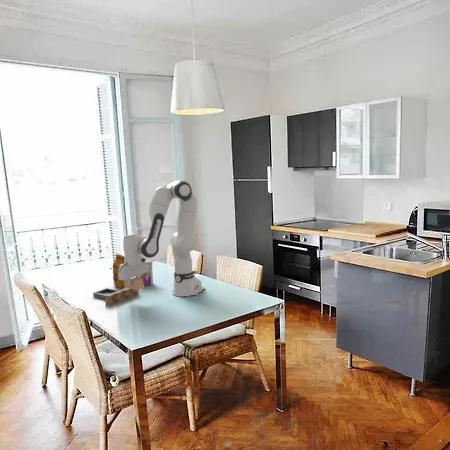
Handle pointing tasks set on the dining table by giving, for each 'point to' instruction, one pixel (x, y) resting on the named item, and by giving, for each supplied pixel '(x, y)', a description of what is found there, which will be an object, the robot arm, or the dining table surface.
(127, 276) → the robot arm
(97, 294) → the tray
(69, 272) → the dining table surface
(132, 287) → the block
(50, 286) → the dining table surface
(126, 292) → the walnut board
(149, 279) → the candy bar box
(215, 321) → the dining table surface
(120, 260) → the coffee package
